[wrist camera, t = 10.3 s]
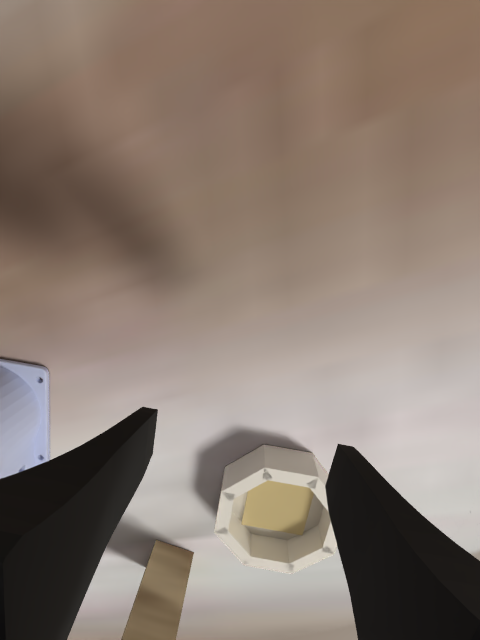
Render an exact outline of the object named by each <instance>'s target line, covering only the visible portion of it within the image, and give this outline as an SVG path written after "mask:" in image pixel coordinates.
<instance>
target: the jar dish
mask: <svg viewBox="0 0 480 640" xmlns="http://www.w3.org/2000/svg"><path fill="white" fill-rule="evenodd" d="M328 475H329V474H328V473H327V471H326V470H325V469H324V467H323V466H322V465H321V463H320V462H319V461H318V459H317V458H316V457H315V456H314V454H313V453H309V452H304V451H298V450H293V449H287V448H281V447H276V446H270V445H262V446H261V447H259V448H257V449H255V450H254V451H252V452H250V453H248V454H247V455H245V456H243V457H241V458H240V459H238V460H236V461H234V462H233V463H231V464H229V465H228V466H226V467H225V469H224V475H223V481H222V487H221V492H220V498H219V504H218V510H217V517H216V523H215V530H214V533H215V534H216V535H217V536H218V537H219V538H220V540H221V541H222V542H223V543H224V544H225V545H226V546H227V547H228V548H229V550H230V551H231V552H232V553H233V554H234V555H235V556H236V557H237V559H238V560H239V561H240V562H241V563H242V564H243V565H245V566H250V567H256V568H261V569H267V570H272V571H277V572H283V573H288V574H293V573H295V572H298V571H300V570H302V569H304V568H306V567H308V566H311V565H313V564H315V563H317V562H319V561H321V560H323V559H326V558H328V557H330V556H332V555H334V554H335V551H336V548H337V542H336V539H335V535H334V531H333V527H332V524H331V520H330V516H329V511H328V504H327V497H326V489H325V485H326V482H327V479H328Z"/></svg>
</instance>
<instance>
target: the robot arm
mask: <svg viewBox="0 0 480 640" xmlns="http://www.w3.org/2000/svg"><path fill="white" fill-rule="evenodd" d="M40 377H41V378H42V379H43V381H42V380H41V379H40ZM157 412H158V410H157V409H152V408H146V407H142V408H140V409H139V410H137V411H135V412H134V413H132V414H131V415H130V416H128V417H127V418H125V419H124V420H122V421H121V422H119V423H118V424H116V425H114V426H113V427H111V428H110V429H108V430H107V431H105V432H103V433H102V434H100V435H98V436H97V437H95V438H93V439H91V440H90V441H88V442H86V443H84V444H83V445H81V446H79V447H77V448H75V449H73V450H71V451H69V452H67V453H65V454H63V455H61V456H58V457H56V458H54V459H52V460H50V455H49V371H48V369H47V368H46V367H44V366H39V365H33V364H27V363H22V362H16V361H10V360H5V359H0V640H67V638H68V635H69V633H70V630H71V628H72V626H73V623H74V621H75V618H76V616H77V613H78V611H79V608H80V606H81V604H82V601H83V599H84V597H85V594H86V592H87V590H88V587H89V585H90V582H91V580H92V578H93V575H94V573H95V571H96V569H97V566H98V564H99V562H100V559H101V557H102V555H103V552H104V550H105V548H106V546H107V544H108V542H109V540H110V538H111V536H112V534H113V532H114V530H115V528H116V526H117V525H118V523H119V521H120V519H121V517H122V515H123V514H124V512H125V510H126V508H127V506H128V504H129V503H130V501H131V499H132V497H133V495H134V493H135V492H136V490H137V488H138V486H139V484H140V482H141V480H142V478H143V476H144V474H145V471H146V469H147V466H148V464H149V461H150V459H151V456H152V454H153V446H154V438H155V429H156V421H157ZM325 489H326V497H327V504H328V511H329V516H330V520H331V524H332V527H333V531H334V535H335V539H336V542H337V546H338V550H339V553H340V557H341V561H342V564H343V568H344V572H345V575H346V579H347V583H348V588H349V592H350V596H351V602H352V607H353V613H354V618H355V624H356V630H357V635H358V640H480V561H479V560H478V559H476V558H475V557H474V556H472V555H471V554H470V553H468V552H467V551H465V550H464V549H463V548H461V547H460V546H459V545H457V544H456V543H455V542H454V541H452V540H451V539H450V538H449V537H447V536H446V535H445V534H444V533H442V532H441V531H440V530H439V529H438V528H436V527H435V526H434V525H433V524H432V523H430V522H429V521H428V520H427V519H426V518H425V517H424V516H422V515H421V514H420V513H419V512H418V511H417V510H416V509H415V508H414V507H413V506H412V505H411V504H409V503H408V502H407V501H406V500H405V499H404V498H403V497H402V496H401V495H400V494H399V493H398V492H397V491H396V490H395V489H394V488H393V487H392V486H391V485H390V484H389V483H388V482H387V481H386V480H385V479H384V478H383V477H382V476H381V475H380V474H379V473H378V471H377V470H376V469H375V468H374V467H373V466H372V465H371V464H370V463H369V462H368V461H367V460H366V459H365V458H364V457H363V456H362V455H361V454H360V453H359V452H358V451H357V450H356V449H355V448H354V447H351V446H346V445H341V444H338V446H337V449H336V452H335V456H334V459H333V462H332V465H331V469H330V472H329V475H328V479H327V482H326V485H325Z"/></svg>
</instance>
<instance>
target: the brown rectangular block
mask: <svg viewBox="0 0 480 640" xmlns="http://www.w3.org/2000/svg"><path fill="white" fill-rule="evenodd" d="M193 554H194V552H191V551H188V550H185V549H182V548H179V547H176V546H173V545H170V544H167V543H164V542H161V541H158V540H156V542H155V545H154V547H153V550H152V553H151V555H150V558H149V561H148V564H147V566H146V569H145V572H144V575H143V578H142V581H141V584H140V587H139V589H138V592H137V595H136V598H135V601H134V604H133V607H132V610H131V613H130V616H129V619H128V622H127V624H126V627H125V630H124V633H123V636H122V639H121V640H176V636H177V631H178V626H179V621H180V616H181V611H182V607H183V602H184V597H185V592H186V587H187V583H188V578H189V573H190V568H191V563H192V558H193Z"/></svg>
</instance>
